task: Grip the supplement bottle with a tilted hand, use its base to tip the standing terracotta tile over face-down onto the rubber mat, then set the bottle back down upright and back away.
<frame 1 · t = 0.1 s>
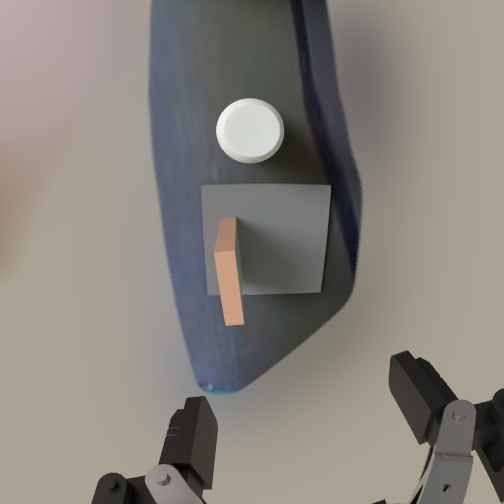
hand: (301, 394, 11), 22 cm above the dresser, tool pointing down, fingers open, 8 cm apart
terracotta tile: (231, 248, 31), point 1 cm above the dresser, touching rubber mat
supplement bottle: (247, 131, 27), on the dresser
rubber mat: (266, 241, 32), on the dresser
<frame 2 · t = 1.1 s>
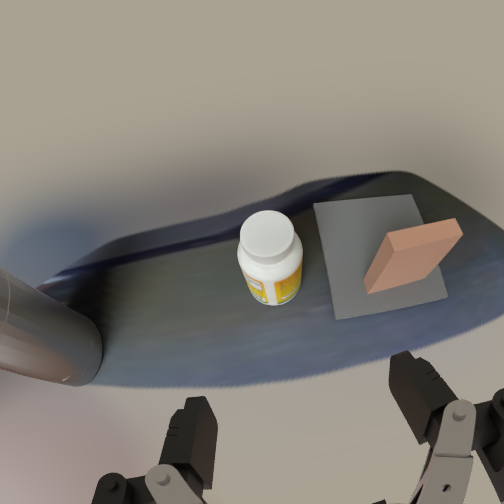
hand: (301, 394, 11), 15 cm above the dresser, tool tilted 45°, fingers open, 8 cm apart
terracotta tile: (395, 279, 26), point 1 cm above the dresser, touching rubber mat
supplement bottle: (275, 282, 29), on the dresser
rubber mat: (380, 250, 29), on the dresser
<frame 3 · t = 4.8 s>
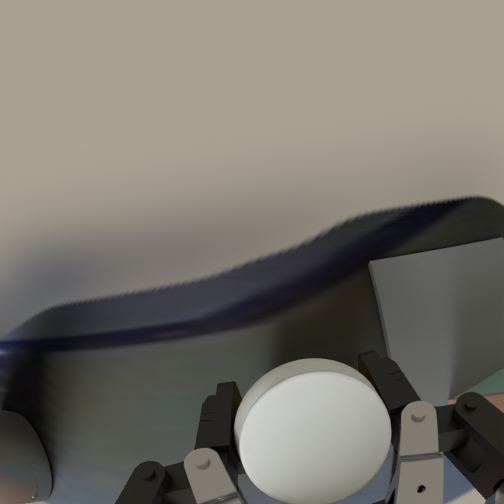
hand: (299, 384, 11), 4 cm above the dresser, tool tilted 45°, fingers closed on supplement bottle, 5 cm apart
terracotta tile: (489, 388, 11), point 1 cm above the dresser, touching rubber mat
supplement bottle: (304, 414, 14), on the dresser, touching gripper
rubber mat: (470, 340, 14), on the dresser
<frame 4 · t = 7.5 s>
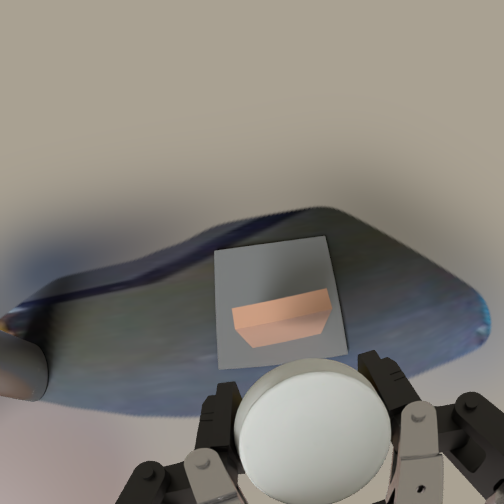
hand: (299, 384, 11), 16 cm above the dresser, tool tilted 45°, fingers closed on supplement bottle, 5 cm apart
terracotta tile: (285, 333, 28), point 1 cm above the dresser, touching rubber mat
supplement bottle: (304, 414, 14), point 12 cm above the dresser, touching gripper
rubber mat: (276, 301, 30), on the dresser
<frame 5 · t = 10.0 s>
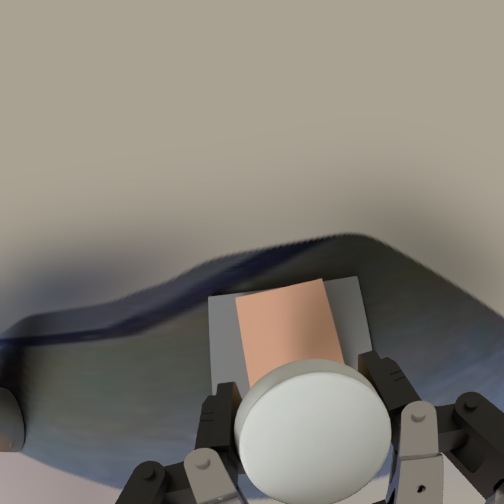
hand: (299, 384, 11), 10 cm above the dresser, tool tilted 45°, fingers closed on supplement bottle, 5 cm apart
terracotta tile: (302, 401, 18), point 1 cm above the dresser, tilted 90°, touching rubber mat
supplement bottle: (304, 414, 14), point 6 cm above the dresser, touching gripper
rubber mat: (292, 367, 21), on the dresser
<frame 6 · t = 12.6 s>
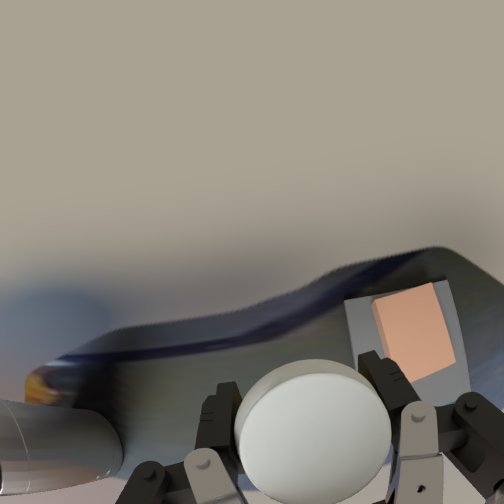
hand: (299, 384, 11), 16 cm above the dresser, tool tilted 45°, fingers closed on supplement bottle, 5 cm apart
terracotta tile: (425, 375, 22), point 1 cm above the dresser, tilted 90°, touching rubber mat
supplement bottle: (304, 415, 14), point 11 cm above the dresser, touching gripper
rubber mat: (412, 352, 24), on the dresser
when the fingers open (6 cm above the dresser, at t = 14.8 s): supplement bottle drops 1 cm, on the dresser.
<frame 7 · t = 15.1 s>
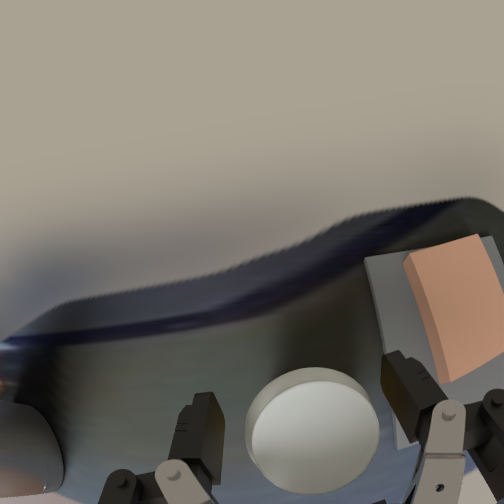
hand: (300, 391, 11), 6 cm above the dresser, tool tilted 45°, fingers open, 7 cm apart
terracotta tile: (482, 362, 13), point 1 cm above the dresser, tilted 90°, touching rubber mat
supplement bottle: (305, 415, 15), on the dresser
rubber mat: (460, 331, 16), on the dresser
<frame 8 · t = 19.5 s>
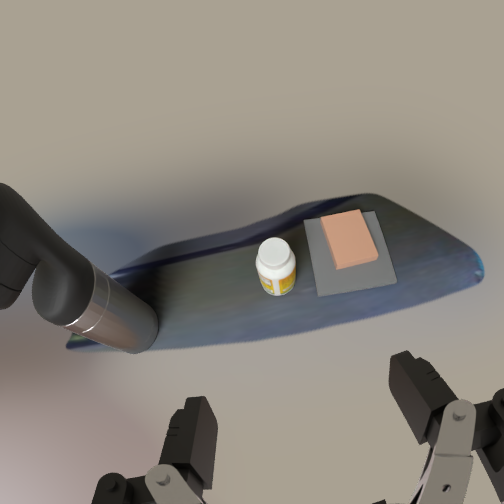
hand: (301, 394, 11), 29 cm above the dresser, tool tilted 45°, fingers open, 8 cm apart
terracotta tile: (357, 262, 42), point 1 cm above the dresser, tilted 90°, touching rubber mat
supplement bottle: (278, 280, 44), on the dresser
rubber mat: (349, 251, 44), on the dresser
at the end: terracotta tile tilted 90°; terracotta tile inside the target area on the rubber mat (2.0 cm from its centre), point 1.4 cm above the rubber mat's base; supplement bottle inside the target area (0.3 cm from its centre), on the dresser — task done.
